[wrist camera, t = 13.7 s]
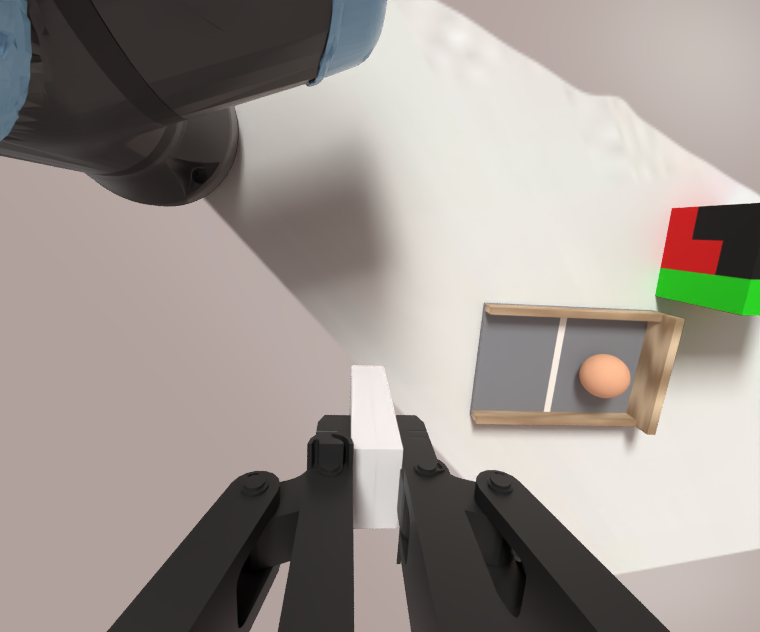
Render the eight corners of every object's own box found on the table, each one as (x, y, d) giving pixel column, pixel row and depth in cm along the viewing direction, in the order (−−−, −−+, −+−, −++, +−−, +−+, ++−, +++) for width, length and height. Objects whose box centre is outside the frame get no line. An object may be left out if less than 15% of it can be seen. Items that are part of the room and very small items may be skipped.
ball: (641, 357, 41) (594, 345, 45) (622, 366, 38) (574, 353, 42) (633, 398, 42) (588, 383, 46) (615, 410, 39) (568, 393, 43)
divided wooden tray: (485, 303, 41) (498, 310, 38) (658, 311, 43) (685, 319, 40) (471, 416, 44) (481, 432, 41) (632, 418, 46) (655, 434, 43)
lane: (484, 302, 42) (485, 303, 41) (654, 310, 44) (658, 311, 43) (469, 413, 45) (471, 416, 44) (628, 416, 47) (632, 419, 46)
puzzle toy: (753, 209, 42) (874, 204, 32) (732, 295, 44) (839, 314, 34) (671, 208, 41) (770, 202, 31) (654, 295, 43) (741, 315, 34)
